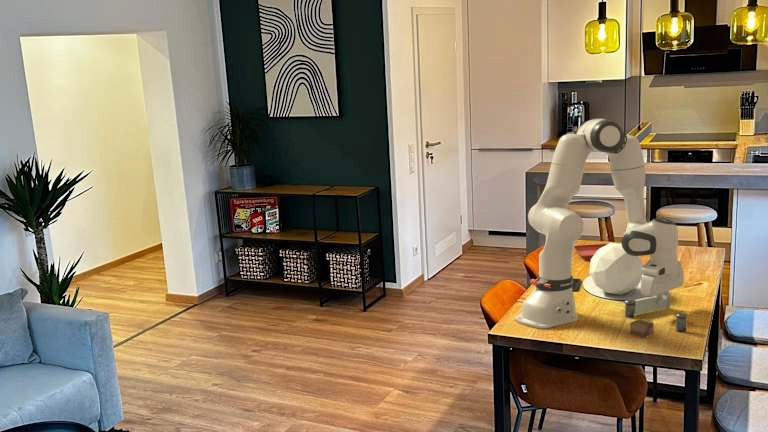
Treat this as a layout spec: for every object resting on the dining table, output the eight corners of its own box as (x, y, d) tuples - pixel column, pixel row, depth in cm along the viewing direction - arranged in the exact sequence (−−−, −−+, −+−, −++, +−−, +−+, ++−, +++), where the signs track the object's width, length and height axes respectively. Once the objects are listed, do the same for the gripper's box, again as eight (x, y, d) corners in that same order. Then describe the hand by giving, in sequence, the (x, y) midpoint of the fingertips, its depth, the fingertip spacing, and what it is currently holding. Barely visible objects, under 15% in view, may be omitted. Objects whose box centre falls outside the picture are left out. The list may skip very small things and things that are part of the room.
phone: (556, 288, 274) (561, 277, 287) (556, 291, 274) (561, 280, 288) (577, 289, 271) (581, 278, 284) (577, 292, 271) (581, 281, 285)
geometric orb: (629, 312, 266) (651, 280, 251) (578, 293, 268) (597, 260, 253) (633, 276, 278) (655, 243, 264) (584, 258, 281) (603, 225, 266)
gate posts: (683, 333, 224) (683, 317, 223) (622, 316, 242) (622, 301, 241) (689, 330, 226) (689, 314, 225) (628, 314, 244) (628, 298, 243)
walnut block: (643, 338, 223) (643, 326, 222) (630, 334, 227) (630, 322, 226) (653, 334, 225) (653, 322, 225) (640, 330, 229) (640, 318, 229)
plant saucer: (581, 262, 312) (581, 255, 311) (572, 252, 330) (572, 245, 329) (622, 260, 311) (622, 253, 311) (611, 250, 329) (611, 243, 328)
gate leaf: (670, 307, 247) (670, 294, 246) (635, 315, 242) (635, 301, 241) (667, 306, 248) (667, 293, 247) (632, 313, 243) (632, 300, 242)
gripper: (672, 257, 250) (671, 295, 252) (637, 269, 238) (636, 308, 241) (689, 261, 245) (687, 299, 247) (654, 272, 233) (653, 312, 236)
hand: (662, 303), depth 244 cm, fingers closed
